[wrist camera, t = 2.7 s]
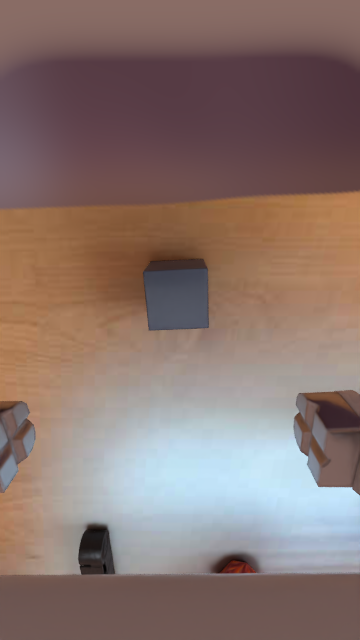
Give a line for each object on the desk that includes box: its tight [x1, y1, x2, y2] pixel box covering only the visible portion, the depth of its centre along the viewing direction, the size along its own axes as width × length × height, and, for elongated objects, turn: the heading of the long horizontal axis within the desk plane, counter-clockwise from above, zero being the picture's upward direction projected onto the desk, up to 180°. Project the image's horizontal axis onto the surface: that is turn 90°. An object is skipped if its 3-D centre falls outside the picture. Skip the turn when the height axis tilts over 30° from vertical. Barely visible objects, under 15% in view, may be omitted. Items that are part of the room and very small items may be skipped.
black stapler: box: [78, 530, 114, 575], centre depth 33 cm, size 18×3×3 cm, turn 1°
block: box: [143, 259, 209, 330], centre depth 19 cm, size 4×4×4 cm
